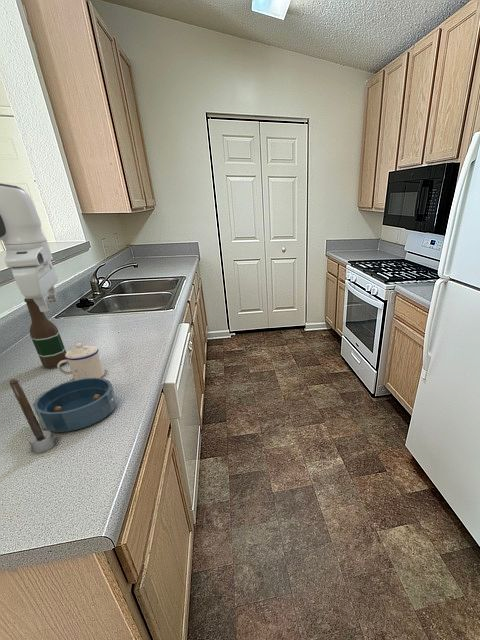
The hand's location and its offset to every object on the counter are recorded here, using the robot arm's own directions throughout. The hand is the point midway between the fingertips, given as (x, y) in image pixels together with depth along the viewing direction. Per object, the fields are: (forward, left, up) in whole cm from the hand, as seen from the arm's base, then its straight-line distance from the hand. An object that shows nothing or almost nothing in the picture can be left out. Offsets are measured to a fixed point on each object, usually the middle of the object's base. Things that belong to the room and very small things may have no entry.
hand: (49, 306), depth 91 cm
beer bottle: (-10, +22, -26) cm, 35 cm away
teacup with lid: (+1, +6, -26) cm, 27 cm away
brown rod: (-3, -28, -26) cm, 39 cm away
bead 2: (+7, -13, -24) cm, 28 cm away
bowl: (+3, -16, -26) cm, 31 cm away
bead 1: (-2, -15, -24) cm, 29 cm away
